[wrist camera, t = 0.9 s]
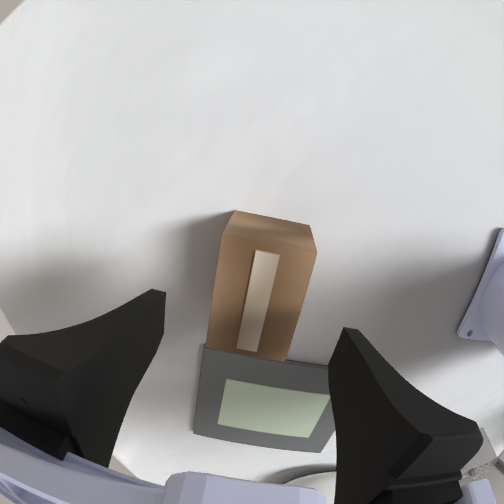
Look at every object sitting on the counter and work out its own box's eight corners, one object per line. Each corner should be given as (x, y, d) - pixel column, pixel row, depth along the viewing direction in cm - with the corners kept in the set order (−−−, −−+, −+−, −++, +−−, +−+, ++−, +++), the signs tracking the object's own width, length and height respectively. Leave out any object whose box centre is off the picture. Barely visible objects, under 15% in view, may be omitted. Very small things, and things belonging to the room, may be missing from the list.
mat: (365, 370, 20) (366, 375, 20) (319, 449, 24) (320, 453, 24) (204, 343, 20) (203, 348, 20) (194, 430, 24) (193, 434, 24)
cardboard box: (309, 224, 17) (317, 253, 13) (284, 318, 19) (284, 363, 15) (235, 209, 17) (221, 234, 13) (219, 305, 19) (205, 347, 16)
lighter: (447, 447, 24) (467, 507, 16) (451, 438, 23) (473, 500, 16) (500, 428, 23) (524, 480, 16) (505, 418, 22) (531, 472, 15)
